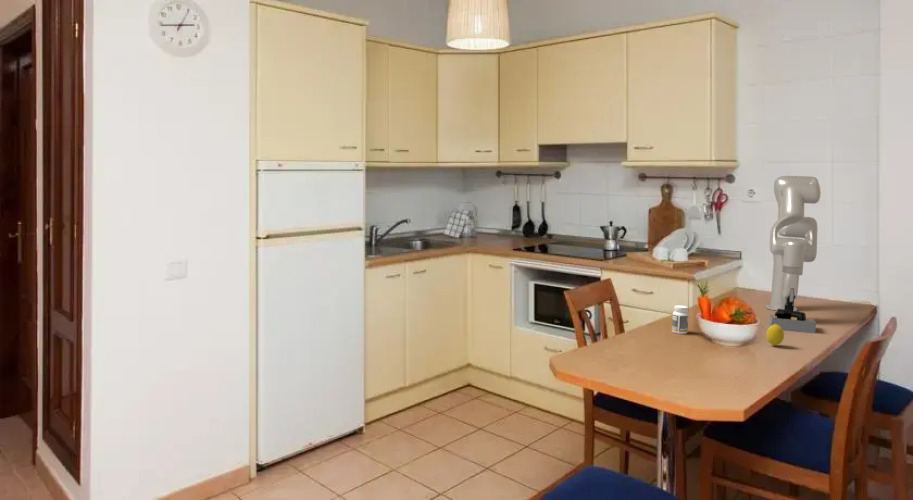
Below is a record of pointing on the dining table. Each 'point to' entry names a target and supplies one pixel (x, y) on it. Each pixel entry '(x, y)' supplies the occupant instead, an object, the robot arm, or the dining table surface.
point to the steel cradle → (794, 324)
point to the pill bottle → (680, 320)
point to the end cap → (790, 314)
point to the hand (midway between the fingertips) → (788, 314)
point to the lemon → (775, 334)
